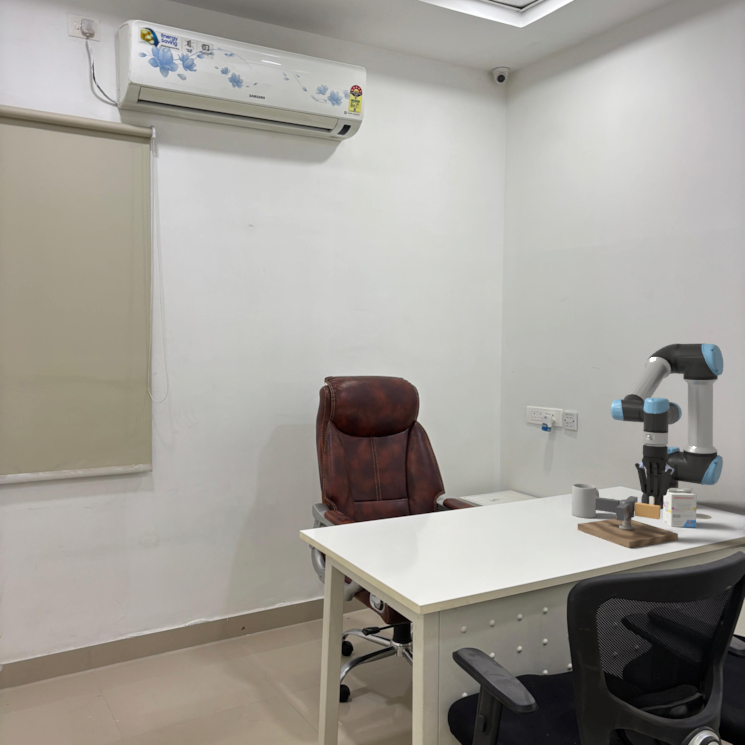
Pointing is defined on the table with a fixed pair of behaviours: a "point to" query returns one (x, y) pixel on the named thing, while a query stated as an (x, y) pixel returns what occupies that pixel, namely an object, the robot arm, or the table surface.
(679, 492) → the ink box
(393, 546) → the table surface
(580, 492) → the mug
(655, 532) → the stud base
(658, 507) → the grey bar cross
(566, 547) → the table surface
